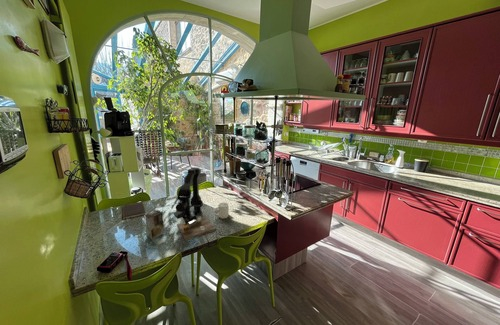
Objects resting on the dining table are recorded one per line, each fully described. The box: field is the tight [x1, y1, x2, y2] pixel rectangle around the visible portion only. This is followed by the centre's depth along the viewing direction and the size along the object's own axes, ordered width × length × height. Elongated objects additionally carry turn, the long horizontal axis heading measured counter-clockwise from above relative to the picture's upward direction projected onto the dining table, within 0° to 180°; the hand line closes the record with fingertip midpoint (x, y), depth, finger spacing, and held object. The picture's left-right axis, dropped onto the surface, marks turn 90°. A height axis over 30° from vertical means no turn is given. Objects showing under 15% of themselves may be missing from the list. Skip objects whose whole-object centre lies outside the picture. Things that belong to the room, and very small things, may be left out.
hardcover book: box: [121, 201, 146, 220], centre depth 171 cm, size 16×23×2 cm
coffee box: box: [144, 209, 165, 240], centre depth 138 cm, size 9×6×16 cm
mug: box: [213, 202, 230, 219], centre depth 164 cm, size 12×8×10 cm
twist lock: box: [183, 215, 202, 230], centre depth 148 cm, size 15×5×4 cm, turn 147°
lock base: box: [176, 216, 216, 241], centre depth 148 cm, size 20×22×2 cm
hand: (186, 224), depth 147 cm, fingers closed
